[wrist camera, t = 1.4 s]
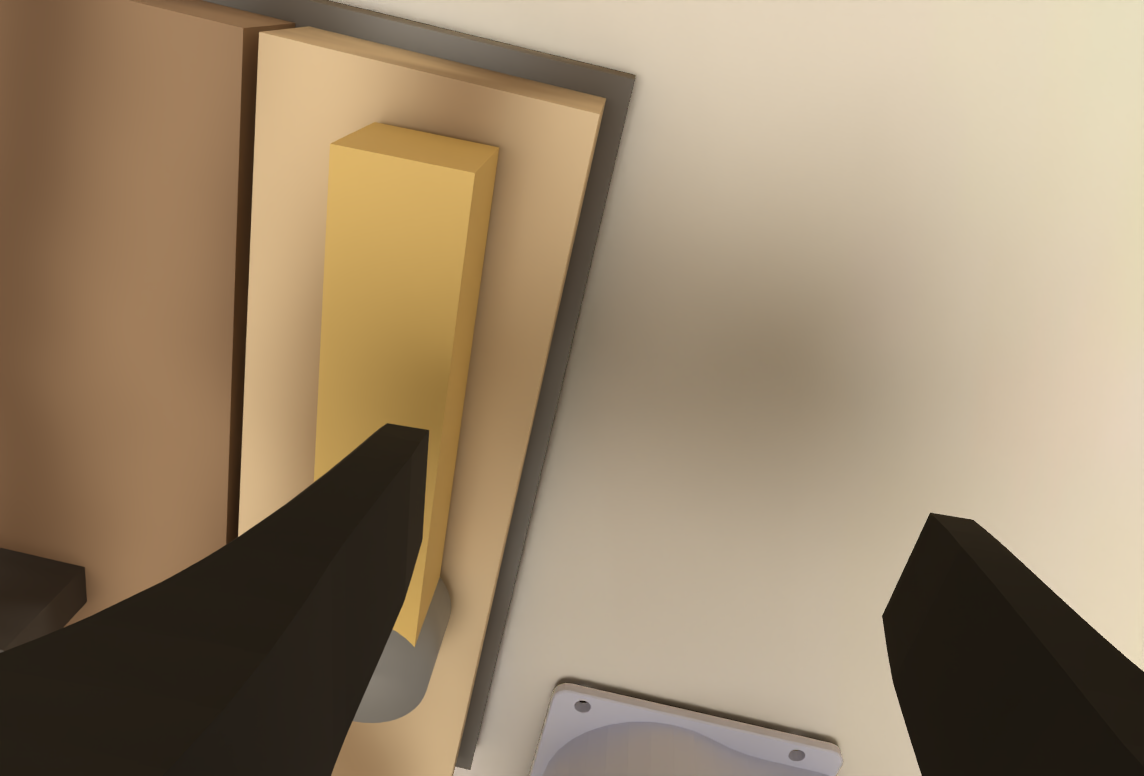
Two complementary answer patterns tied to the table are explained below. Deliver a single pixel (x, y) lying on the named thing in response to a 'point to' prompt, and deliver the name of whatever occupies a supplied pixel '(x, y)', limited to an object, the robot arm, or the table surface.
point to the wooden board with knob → (261, 298)
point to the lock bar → (403, 344)
